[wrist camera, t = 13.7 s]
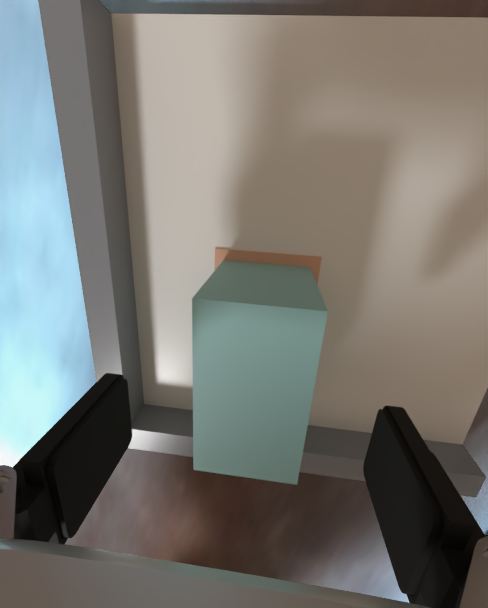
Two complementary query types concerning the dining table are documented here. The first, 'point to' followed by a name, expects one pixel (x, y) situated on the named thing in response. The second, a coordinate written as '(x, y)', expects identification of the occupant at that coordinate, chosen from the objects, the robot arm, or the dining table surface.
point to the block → (255, 368)
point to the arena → (284, 205)
